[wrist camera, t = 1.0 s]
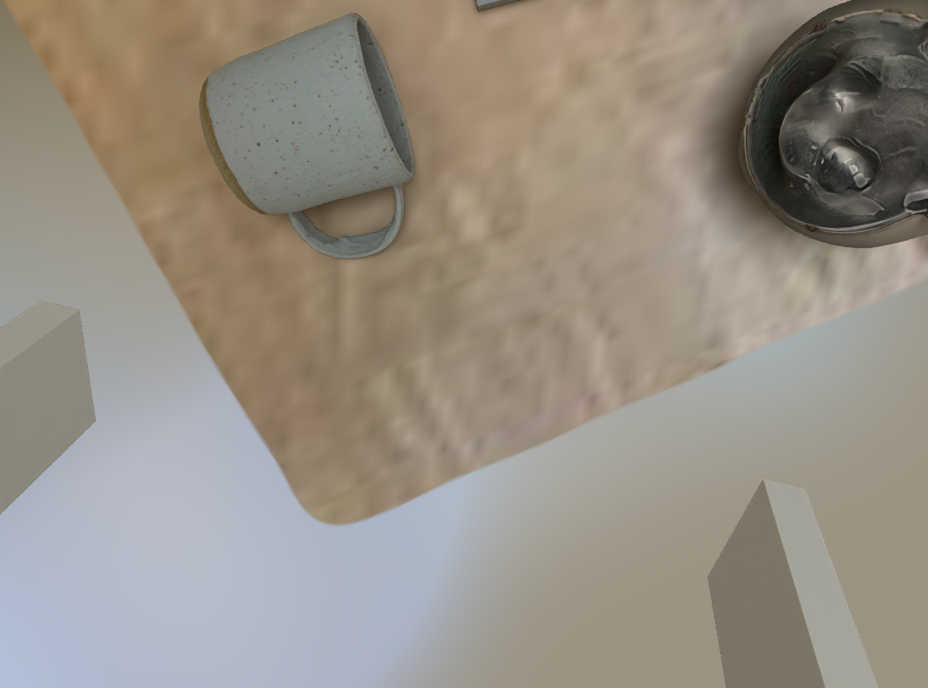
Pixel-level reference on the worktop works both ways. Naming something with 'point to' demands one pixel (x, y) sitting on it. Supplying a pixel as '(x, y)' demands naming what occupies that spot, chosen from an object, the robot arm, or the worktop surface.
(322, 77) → the ceramic mug
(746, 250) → the worktop surface
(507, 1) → the shelf
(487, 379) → the worktop surface
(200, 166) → the worktop surface
